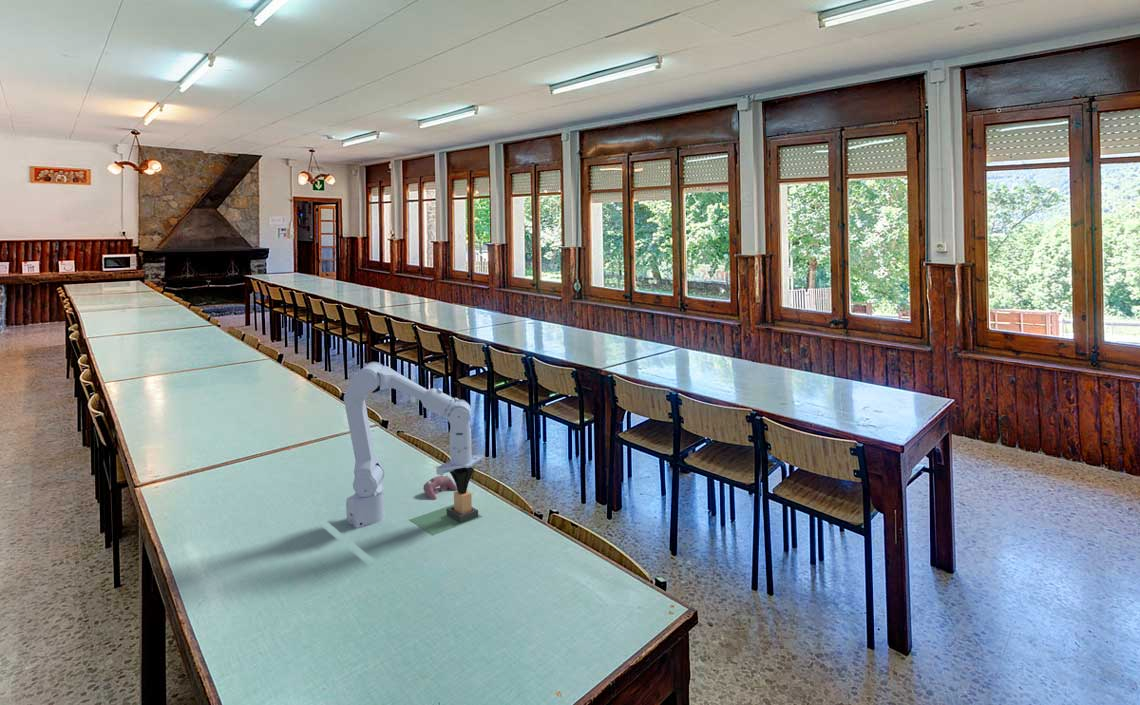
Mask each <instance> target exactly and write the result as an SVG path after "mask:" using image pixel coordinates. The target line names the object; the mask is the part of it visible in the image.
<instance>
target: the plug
mask: <svg viewBox="0 0 1140 705" xmlns="http://www.w3.org/2000/svg"><path fill="white" fill-rule="evenodd" d="M453 504H454V511H456V512H457V513H459V514H461V515H462V514H465V513H468V512H470V511H472V507H473V506H472V493H471V492H469V491H468V490H467V491H466V493H464V494H461V493H459V492H458V491H454V492H453Z"/></svg>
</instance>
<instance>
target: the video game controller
mask: <svg viewBox="0 0 1140 705" xmlns="http://www.w3.org/2000/svg"><path fill="white" fill-rule="evenodd" d="M438 487H439V490H438V489H437V488H438ZM422 489H423V492H424V493H425V494H426V496H427V497H428V498H429V499H431V500H433V501H434V500H437V499H438V498H437V494H440V492H442V493H443V492H445V491H448V490H451V491H454V492H456V491H458V490H457V486H456V484H455V481H454V480H453V479H452V478H451V477H449V476H448V475H441V476H440V475H438V476H435V477H433V478H431V479H429V480H428V481H426V482H425V483H424V485H423V488H422Z"/></svg>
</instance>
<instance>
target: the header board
mask: <svg viewBox="0 0 1140 705" xmlns="http://www.w3.org/2000/svg"><path fill="white" fill-rule="evenodd" d="M480 518H483V516H482V515H481V514H479V510H478V509H476V508H475V507H473V506H472V511H470V512H468V513H465V514H462V515H461V514H459V513H457V512H456V511H454V503H453V504H450V505H448V506H445V507H442V508H439V509H435V510H434V511H431V512H427V513H424V514H422V515H419V516H416V517H413V518H409V521H410V522H411V523H413V524H414V525H416V526H417V527H419V528H420V529H421V530H424V531H425V532H426V533H427V534H430V535H431V536H434V535H437V534H440V533H443V532H446V531H449V530H451V529H453V528H456V527H459V526H462V525H465V524H466V523H470V522H472V521H474V520H475V521H476V520H478V519H480Z"/></svg>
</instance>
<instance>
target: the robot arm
mask: <svg viewBox="0 0 1140 705" xmlns="http://www.w3.org/2000/svg"><path fill="white" fill-rule="evenodd" d="M379 387H380V388H379ZM378 388H379V391H384V390H389V389H394V390H396V391H400V393H403V394H406V395H408V396H409V397H412V398H413V399H417V400H418V401H420V402H421V404H422V407H423V408H425V409H427V410H429V411H431V412H432V413H435V414H436V415H438V416H440V417H442V418H445V419H447V421H448V423H449V425H450V429H449V448H450V449H449V450H450V451H449V452H450V454H449V456H450V457H449V458H450V460H448V461H446V462H445V463H443V464H441V465H438V466H436V467H435V468H436V471H435V472H436V475H438V476H445V474H447V473H449V474H450V475H451V477H452V480H453V482H454V484H455V485H456V486H457V490H458V492H459V493H461V494H464V493H466V491H467V492H468V485H469V483H470V480H471V478H472V476H473V474H474V472H475V468H474V467H473V465H476V464H480V463H481V464H483V463H485V462H486V456H485V455H484V454H482V453H480V454H475V455H473V454H472V453H473V451H472V450H473V449H472V448H473V447H472V428H471V427H472V426H471V425H472V424H471V415H472V406H471V405H470V404H469V402H467V401H466V400H465V399H459V398H458V397H452V396H450V395H449V394H446V393H444V392H443V389H442V388H440V387H439V388H438V389H437V388H434V387H432V388H429V389H427V388H425V387H424V386H421V385H420V384H418V383H416V382H415V381H413V380H411V379H409V378H408V377H406V376H405V375H402V374H400V373H399V372H397V371H396V370H394V369H393V368H391V367H389V366H387V365H383V364H382V363H381V362H377V361H371V362H368V363H367V364H365V365H364V366H363V368H361V369H360V370H358V371H357V372H355V374H354V375H353V376H352V377H351V378H350V381H349V384H348V386H347V389H346V390H345V393H344V395H343V401H344V408H345V412H346V413H345V414H346V418H347V424H348V428H349V433H350V439H351V444H352V449H353V455H354V469H353V474H354V479H353V482H352V488H353V491H354V492H355V493H354V494H353V495H351V496H348V497H347V498H346V500H345V507H346V521H347V522H348V523H349V524H351V525H352V526H353V527H354V528H355V529H359V528H362V527H365V526H369V525H374V524H377V523H379V522H382V521H383V520H384V519H385V516H386V515H385V497H384V495H385V494H384V486H383V485H382V481H383V479H384V478H385V470H384V468H383V466H382V465H381V464H380V461H379V457H378V456H377V455H376V453H375V447H374V442H373V438H372V437H373V436H372V431H371V426H370V422H369V415H368V411H367V410H368V409H367V405H366V398H368V396H369V395H370V394H371V393H372V392H375V391H376V390H377V389H378Z"/></svg>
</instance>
